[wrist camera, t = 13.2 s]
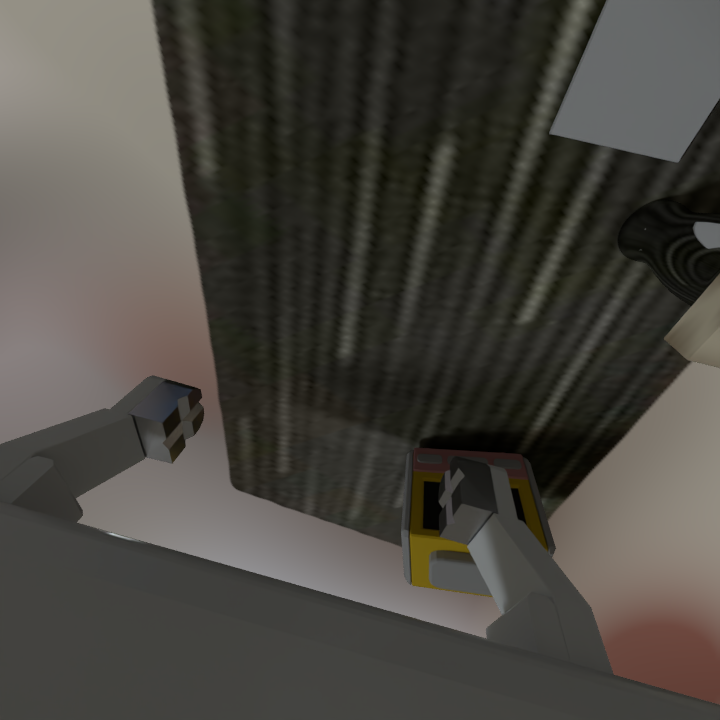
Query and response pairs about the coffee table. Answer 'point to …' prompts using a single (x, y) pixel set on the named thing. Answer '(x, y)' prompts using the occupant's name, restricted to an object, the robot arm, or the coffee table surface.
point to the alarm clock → (422, 508)
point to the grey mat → (645, 77)
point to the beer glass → (674, 246)
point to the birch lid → (700, 329)
